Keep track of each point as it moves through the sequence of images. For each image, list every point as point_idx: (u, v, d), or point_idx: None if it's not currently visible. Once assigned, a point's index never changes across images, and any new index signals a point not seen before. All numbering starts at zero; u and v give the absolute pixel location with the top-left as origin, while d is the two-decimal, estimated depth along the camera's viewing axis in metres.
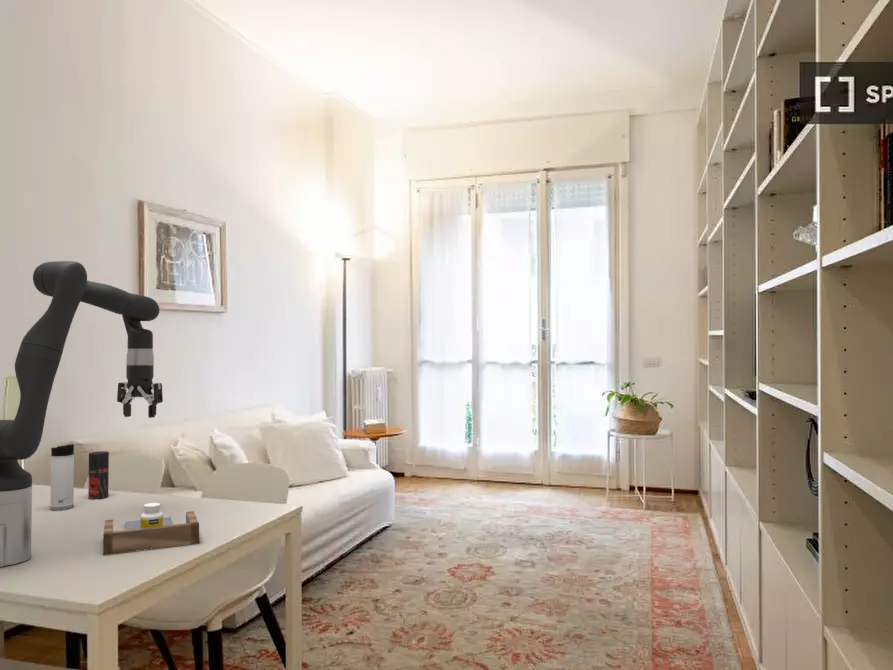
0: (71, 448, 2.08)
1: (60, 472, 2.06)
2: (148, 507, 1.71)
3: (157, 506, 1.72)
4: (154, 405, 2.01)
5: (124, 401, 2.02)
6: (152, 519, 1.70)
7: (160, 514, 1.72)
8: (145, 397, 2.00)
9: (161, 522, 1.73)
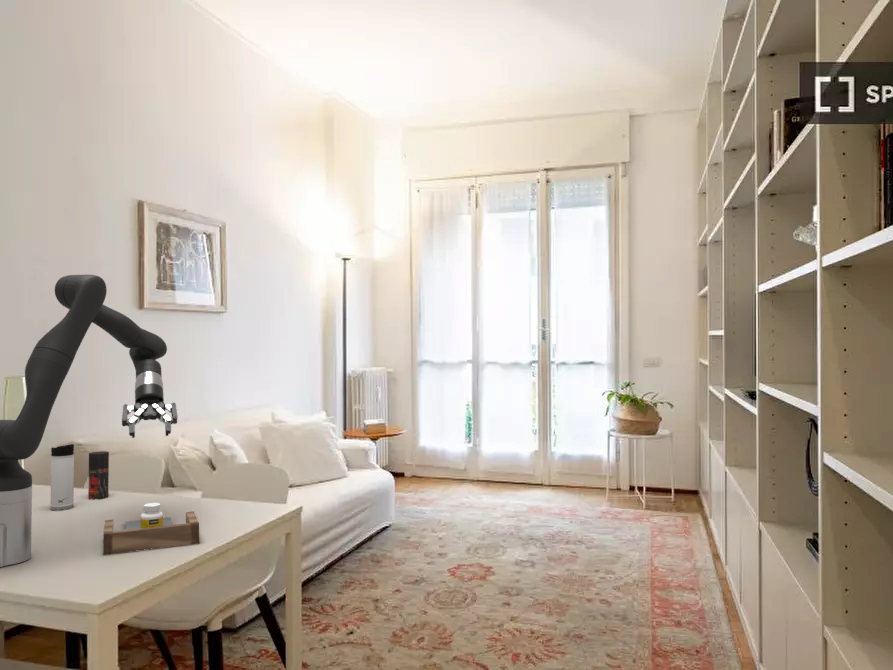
0: (71, 448, 2.08)
1: (60, 472, 2.06)
2: (148, 507, 1.71)
3: (157, 506, 1.72)
4: (170, 423, 1.88)
5: (132, 419, 1.84)
6: (152, 519, 1.70)
7: (160, 514, 1.72)
8: (163, 413, 1.88)
9: (161, 522, 1.73)
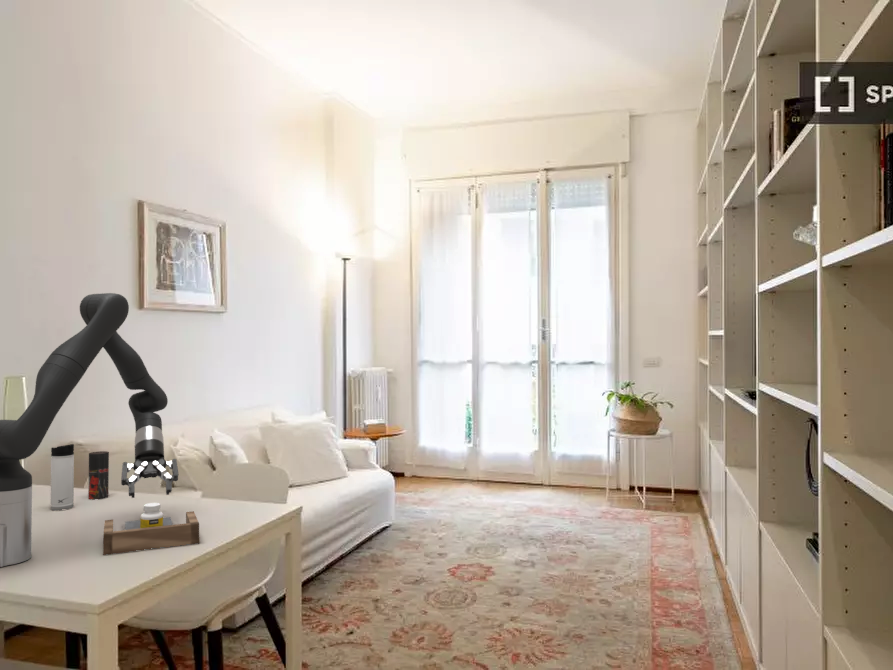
0: (71, 448, 2.08)
1: (60, 472, 2.06)
2: (148, 507, 1.71)
3: (157, 506, 1.72)
4: (171, 480, 1.83)
5: (132, 478, 1.79)
6: (152, 519, 1.70)
7: (160, 514, 1.72)
8: (163, 471, 1.83)
9: (161, 522, 1.73)
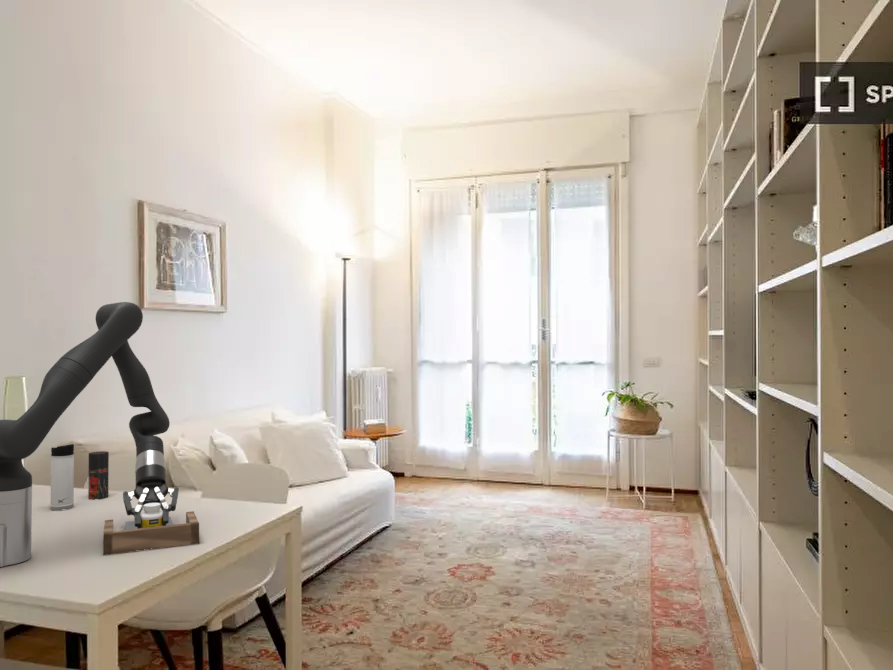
0: (71, 448, 2.08)
1: (60, 472, 2.06)
2: (148, 507, 1.71)
3: (157, 506, 1.72)
4: (168, 511, 1.75)
5: (137, 508, 1.72)
6: (152, 519, 1.70)
7: (160, 514, 1.72)
8: (162, 499, 1.75)
9: (161, 522, 1.73)
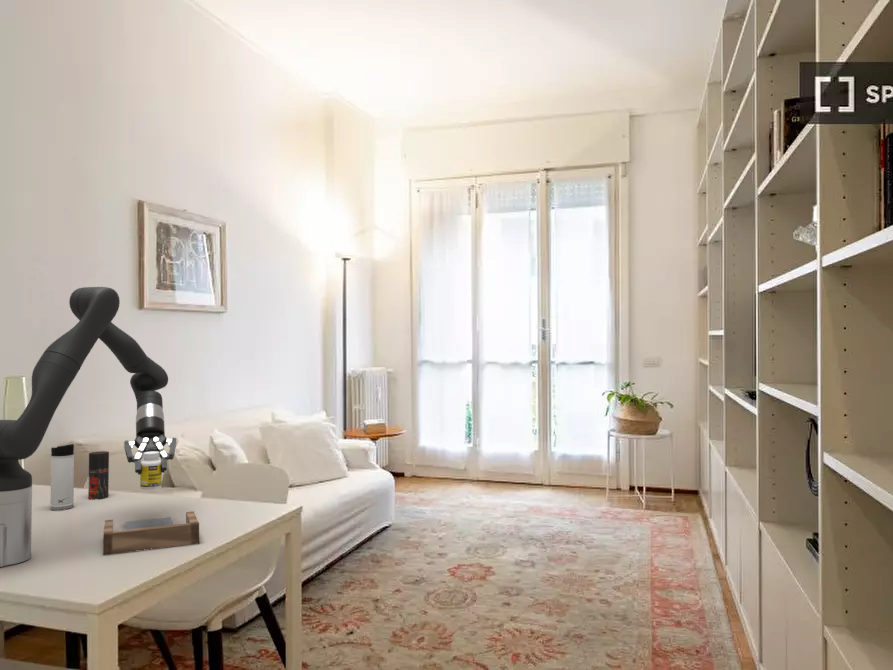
0: (71, 448, 2.08)
1: (60, 472, 2.06)
2: (147, 454, 1.82)
3: (156, 454, 1.83)
4: (167, 459, 1.87)
5: (138, 456, 1.84)
6: (151, 465, 1.82)
7: (159, 461, 1.84)
8: (160, 448, 1.87)
9: (160, 469, 1.84)
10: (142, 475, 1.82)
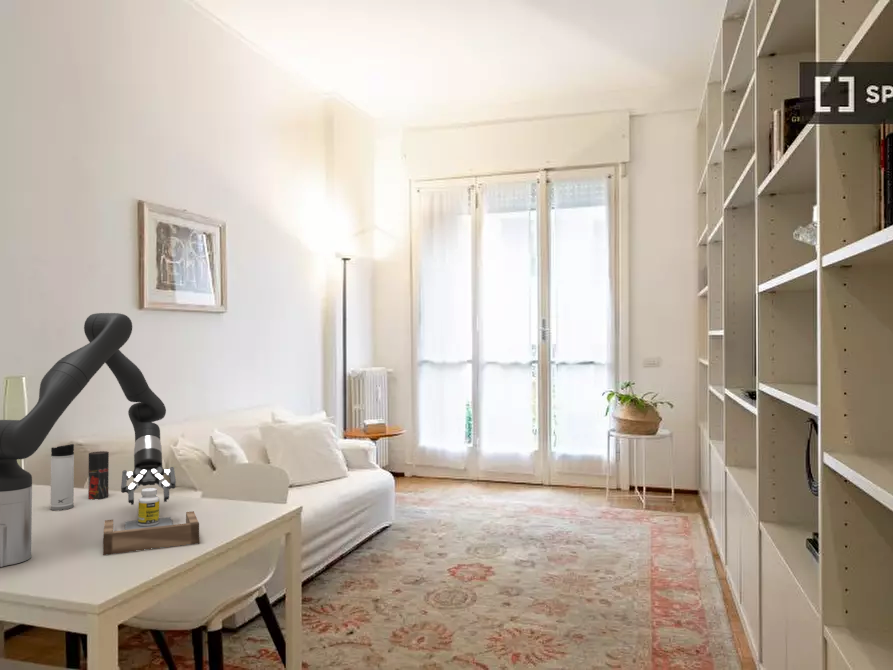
0: (71, 448, 2.08)
1: (60, 472, 2.06)
2: (145, 492, 1.86)
3: (154, 491, 1.87)
4: (169, 488, 1.91)
5: (131, 486, 1.87)
6: (149, 502, 1.86)
7: (156, 498, 1.88)
8: (161, 478, 1.91)
9: (157, 506, 1.88)
10: (140, 512, 1.86)
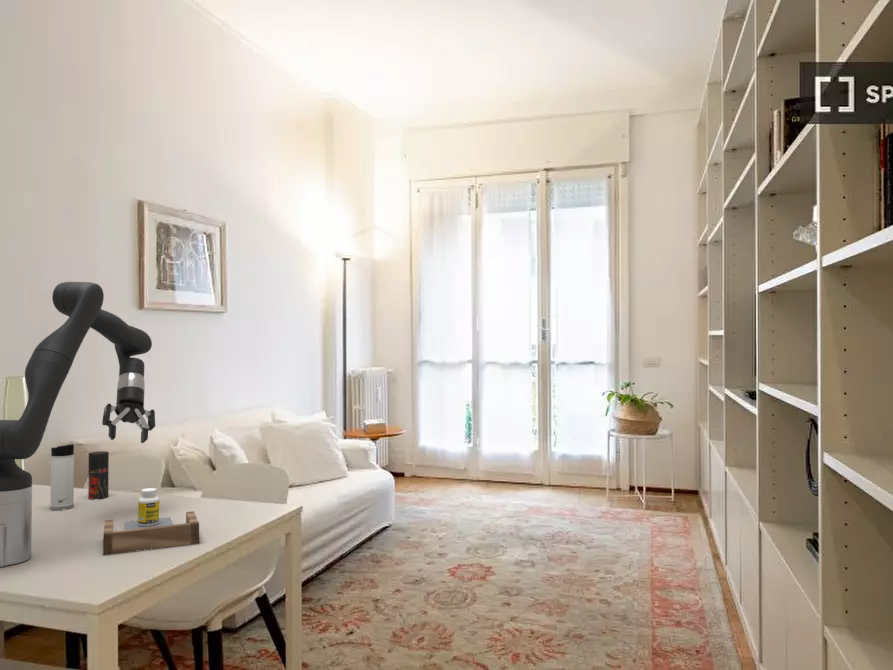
0: (71, 448, 2.08)
1: (60, 472, 2.06)
2: (145, 492, 1.86)
3: (154, 491, 1.87)
4: (147, 430, 2.00)
5: (114, 422, 1.93)
6: (149, 502, 1.86)
7: (156, 498, 1.88)
8: (143, 420, 1.99)
9: (157, 506, 1.88)
10: (140, 512, 1.86)
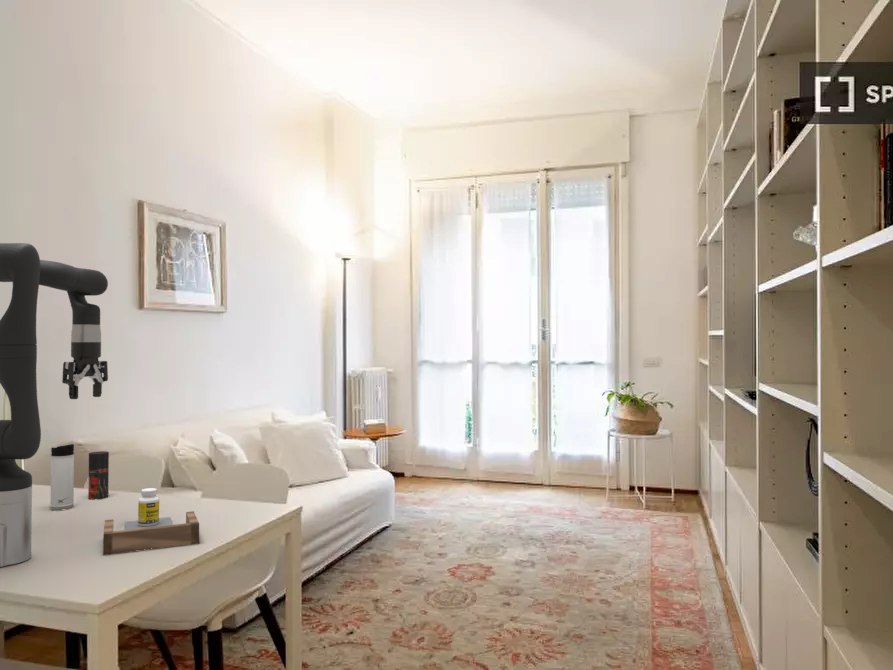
0: (71, 448, 2.08)
1: (60, 472, 2.06)
2: (145, 492, 1.86)
3: (154, 491, 1.87)
4: None
5: (77, 382, 1.84)
6: (149, 502, 1.86)
7: (156, 498, 1.88)
8: (99, 375, 1.92)
9: (157, 506, 1.88)
10: (140, 512, 1.86)
